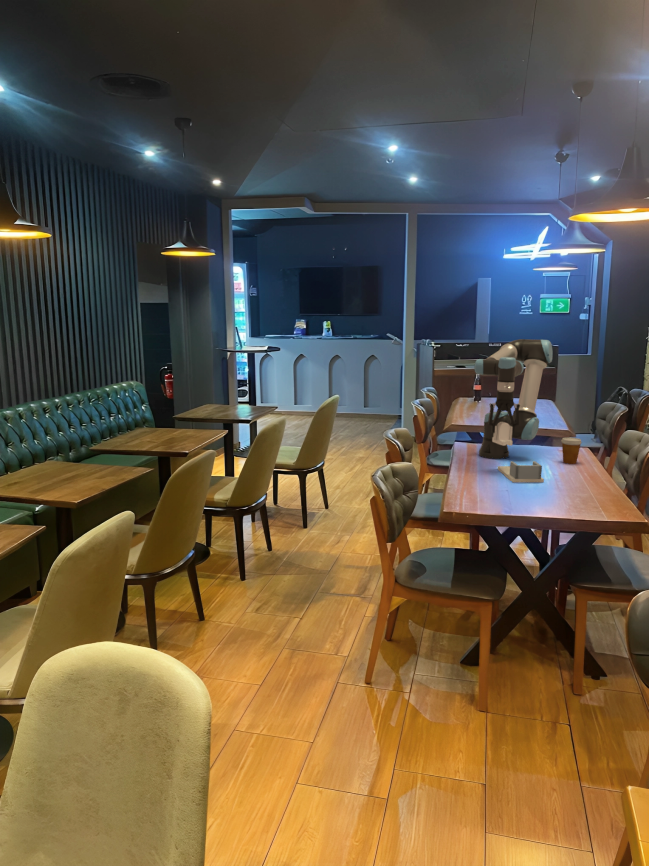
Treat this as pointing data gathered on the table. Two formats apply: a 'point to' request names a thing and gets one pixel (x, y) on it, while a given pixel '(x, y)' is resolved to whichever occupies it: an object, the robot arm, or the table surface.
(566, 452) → the disposable coffee cup
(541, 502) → the table surface
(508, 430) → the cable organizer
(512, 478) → the dock
